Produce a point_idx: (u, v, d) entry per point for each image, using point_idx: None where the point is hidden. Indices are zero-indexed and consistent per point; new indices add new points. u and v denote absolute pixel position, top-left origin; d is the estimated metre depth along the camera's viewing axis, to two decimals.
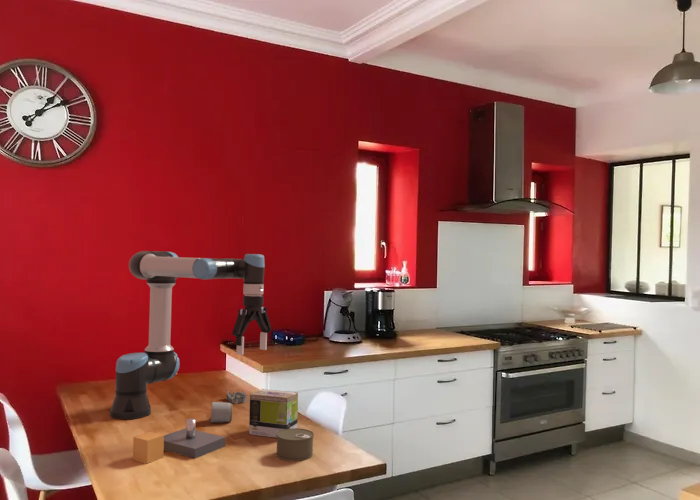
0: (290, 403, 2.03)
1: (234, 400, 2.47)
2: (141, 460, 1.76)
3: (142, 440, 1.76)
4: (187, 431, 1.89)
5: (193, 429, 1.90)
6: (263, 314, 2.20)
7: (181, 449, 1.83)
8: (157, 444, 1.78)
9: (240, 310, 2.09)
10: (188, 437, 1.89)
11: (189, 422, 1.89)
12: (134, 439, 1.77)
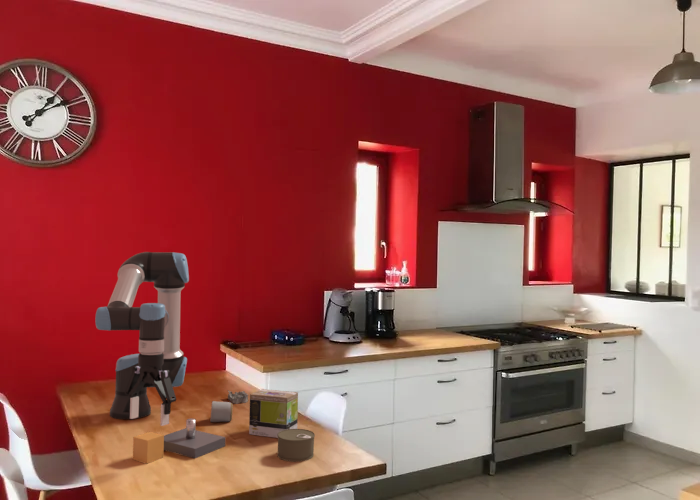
0: (290, 403, 2.03)
1: (235, 400, 2.47)
2: (141, 460, 1.76)
3: (142, 440, 1.76)
4: (187, 431, 1.89)
5: (193, 429, 1.90)
6: None
7: (181, 449, 1.83)
8: (157, 444, 1.78)
9: None
10: (188, 437, 1.89)
11: (189, 422, 1.89)
12: (134, 439, 1.77)
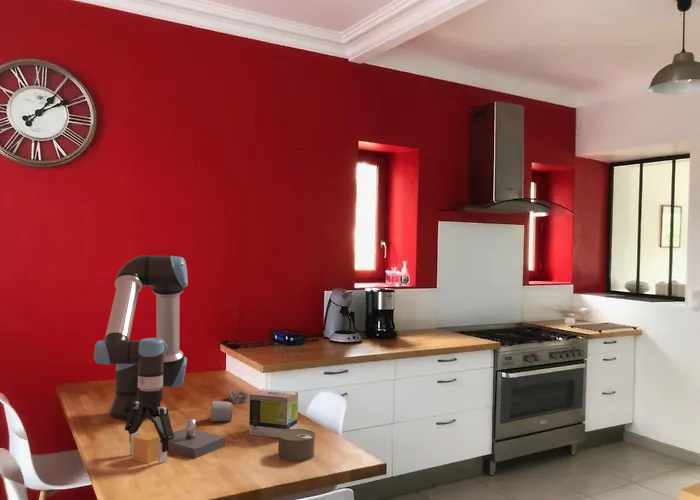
0: (290, 403, 2.03)
1: (235, 400, 2.47)
2: (141, 460, 1.76)
3: (142, 440, 1.76)
4: (187, 431, 1.89)
5: (193, 429, 1.90)
6: None
7: (181, 449, 1.83)
8: (157, 444, 1.78)
9: None
10: (188, 437, 1.89)
11: (189, 422, 1.89)
12: (134, 439, 1.77)
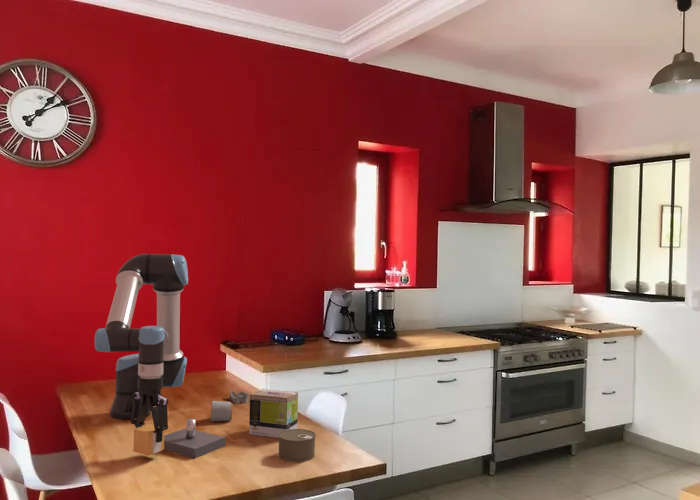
0: (290, 403, 2.03)
1: (236, 400, 2.47)
2: (142, 452, 1.76)
3: (143, 432, 1.76)
4: (187, 431, 1.89)
5: (193, 429, 1.90)
6: None
7: (181, 449, 1.83)
8: None
9: None
10: (188, 437, 1.89)
11: (189, 422, 1.89)
12: (135, 431, 1.78)
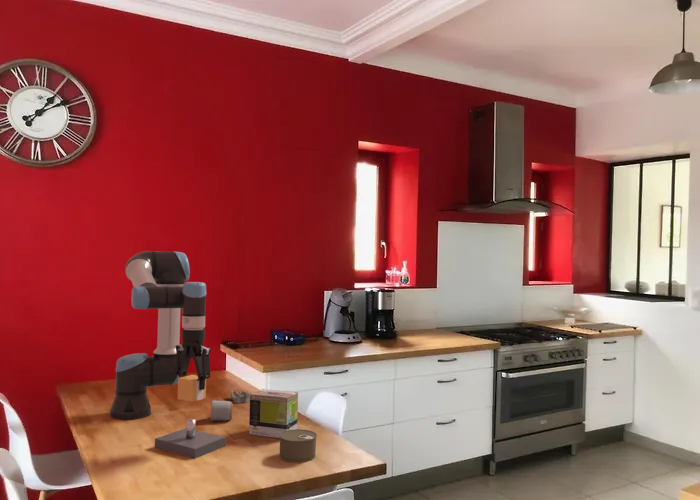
0: (290, 403, 2.03)
1: (236, 399, 2.48)
2: (186, 399, 1.87)
3: (187, 380, 1.87)
4: (187, 431, 1.89)
5: (193, 429, 1.90)
6: None
7: (181, 449, 1.83)
8: None
9: None
10: (188, 437, 1.89)
11: (189, 422, 1.89)
12: (179, 380, 1.89)
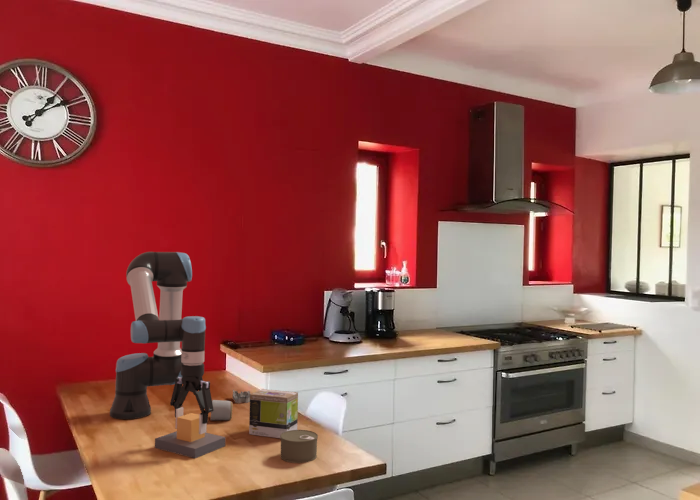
0: (290, 403, 2.03)
1: (237, 399, 2.48)
2: (185, 439, 1.88)
3: (186, 420, 1.87)
4: None
5: None
6: None
7: (181, 449, 1.83)
8: None
9: None
10: None
11: None
12: (178, 419, 1.89)
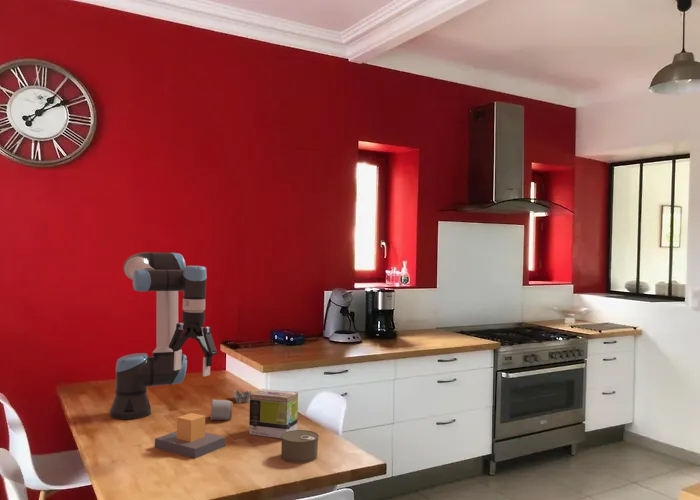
0: (290, 403, 2.03)
1: (237, 399, 2.48)
2: (185, 439, 1.88)
3: (186, 420, 1.87)
4: None
5: None
6: None
7: (181, 449, 1.83)
8: (199, 424, 1.90)
9: None
10: None
11: None
12: (178, 419, 1.89)
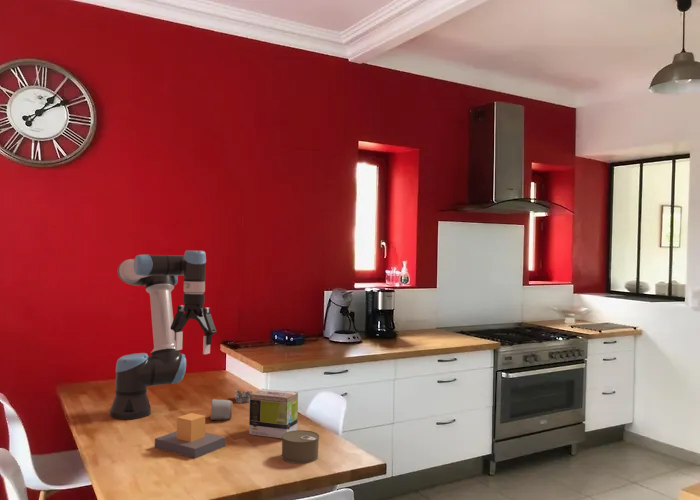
0: (290, 403, 2.03)
1: (238, 399, 2.48)
2: (185, 439, 1.88)
3: (186, 420, 1.87)
4: None
5: None
6: None
7: (181, 449, 1.83)
8: (199, 424, 1.90)
9: None
10: None
11: None
12: (178, 419, 1.89)
